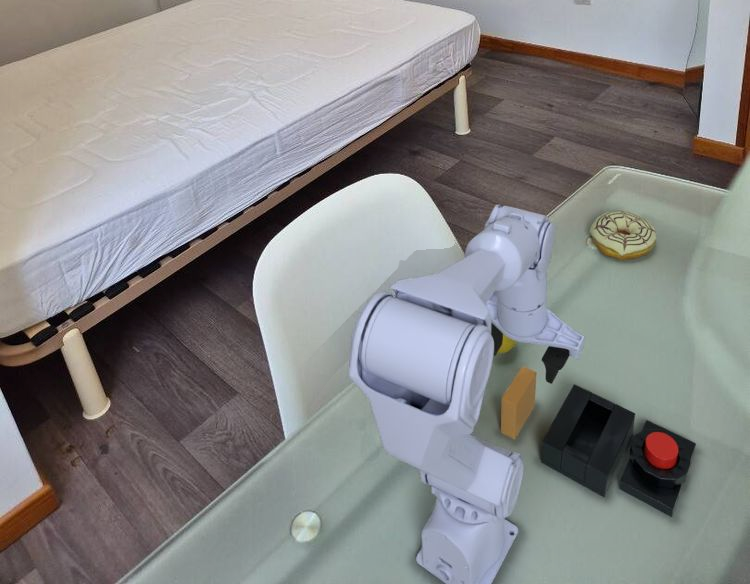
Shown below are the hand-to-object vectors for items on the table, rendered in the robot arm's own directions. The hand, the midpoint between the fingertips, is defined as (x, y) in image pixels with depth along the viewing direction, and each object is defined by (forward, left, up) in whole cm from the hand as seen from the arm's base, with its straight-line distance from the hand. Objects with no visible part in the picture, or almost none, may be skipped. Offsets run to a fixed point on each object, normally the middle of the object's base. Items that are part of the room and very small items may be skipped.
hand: (523, 362), depth 87 cm
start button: (+2, -17, -7) cm, 18 cm away
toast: (-1, 0, -10) cm, 10 cm away
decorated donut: (+41, +1, -10) cm, 43 cm away
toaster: (0, -9, -10) cm, 13 cm away
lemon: (+8, +8, -10) cm, 15 cm away
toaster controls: (+2, -17, -10) cm, 20 cm away
